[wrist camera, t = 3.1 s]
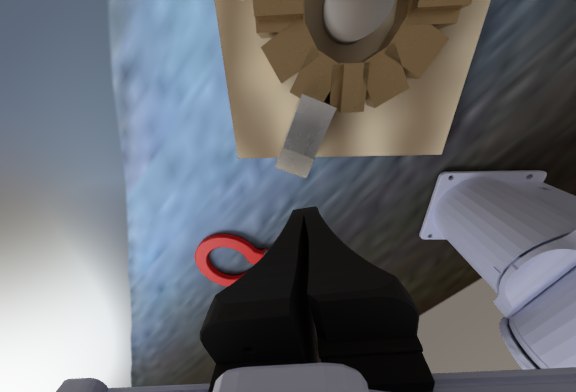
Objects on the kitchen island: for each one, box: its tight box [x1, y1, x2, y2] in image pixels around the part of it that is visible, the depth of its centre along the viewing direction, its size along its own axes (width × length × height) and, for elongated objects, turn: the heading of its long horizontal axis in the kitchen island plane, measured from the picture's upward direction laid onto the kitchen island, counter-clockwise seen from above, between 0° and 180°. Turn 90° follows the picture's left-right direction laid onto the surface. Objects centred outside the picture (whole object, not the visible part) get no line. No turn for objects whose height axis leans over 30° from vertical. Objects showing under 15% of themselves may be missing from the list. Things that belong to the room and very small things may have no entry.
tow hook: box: [195, 234, 269, 286], centre depth 22 cm, size 8×13×9 cm
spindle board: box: [214, 0, 491, 158], centre depth 13 cm, size 18×20×5 cm
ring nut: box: [253, 0, 472, 178], centre depth 14 cm, size 12×16×4 cm
